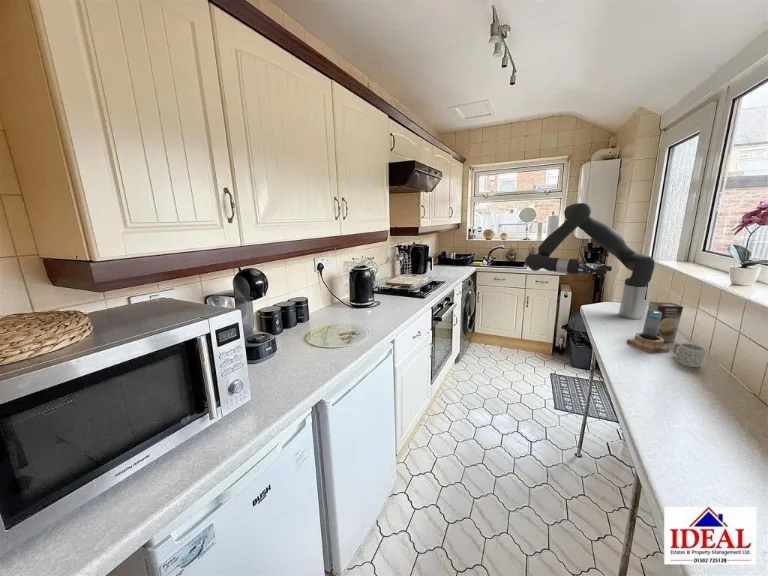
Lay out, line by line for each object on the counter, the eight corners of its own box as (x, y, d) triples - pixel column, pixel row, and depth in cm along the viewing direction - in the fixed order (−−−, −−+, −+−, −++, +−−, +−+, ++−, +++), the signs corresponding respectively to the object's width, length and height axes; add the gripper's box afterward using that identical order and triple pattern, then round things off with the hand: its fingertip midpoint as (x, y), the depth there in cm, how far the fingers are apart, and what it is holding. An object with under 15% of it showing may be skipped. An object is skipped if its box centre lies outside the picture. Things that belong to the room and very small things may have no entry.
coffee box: (652, 341, 130) (660, 306, 126) (641, 335, 136) (648, 301, 132) (675, 342, 129) (683, 306, 125) (663, 336, 135) (671, 302, 131)
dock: (645, 341, 130) (647, 331, 129) (669, 351, 120) (671, 341, 119) (626, 342, 129) (628, 333, 128) (649, 353, 119) (651, 342, 118)
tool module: (647, 341, 127) (654, 309, 123) (657, 345, 122) (665, 313, 119) (637, 341, 126) (644, 310, 123) (647, 346, 122) (655, 314, 118)
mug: (706, 367, 108) (710, 351, 106) (686, 367, 108) (691, 350, 107) (681, 355, 118) (685, 339, 116) (663, 354, 118) (667, 339, 116)
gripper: (564, 260, 140) (606, 264, 129) (574, 256, 150) (614, 260, 138) (562, 275, 142) (603, 281, 130) (572, 271, 151) (611, 275, 140)
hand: (609, 270), depth 134 cm, fingers open, 8 cm apart
